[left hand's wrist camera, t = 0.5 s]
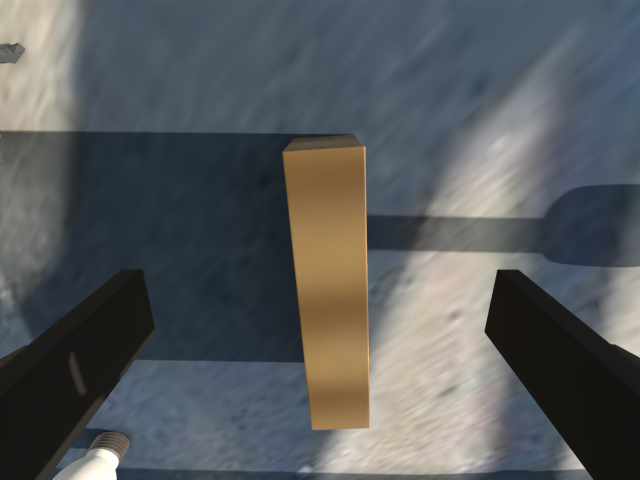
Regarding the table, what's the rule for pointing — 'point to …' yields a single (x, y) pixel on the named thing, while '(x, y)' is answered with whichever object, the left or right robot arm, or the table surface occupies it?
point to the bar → (331, 274)
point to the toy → (10, 56)
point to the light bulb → (98, 459)
